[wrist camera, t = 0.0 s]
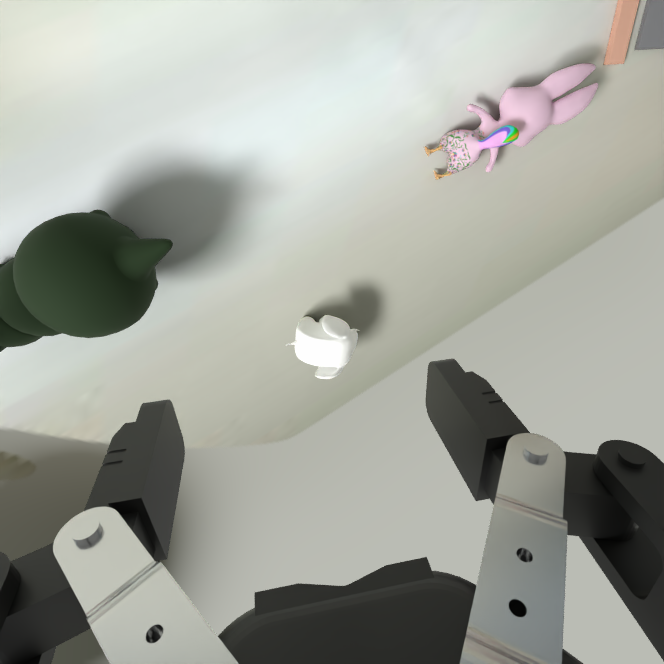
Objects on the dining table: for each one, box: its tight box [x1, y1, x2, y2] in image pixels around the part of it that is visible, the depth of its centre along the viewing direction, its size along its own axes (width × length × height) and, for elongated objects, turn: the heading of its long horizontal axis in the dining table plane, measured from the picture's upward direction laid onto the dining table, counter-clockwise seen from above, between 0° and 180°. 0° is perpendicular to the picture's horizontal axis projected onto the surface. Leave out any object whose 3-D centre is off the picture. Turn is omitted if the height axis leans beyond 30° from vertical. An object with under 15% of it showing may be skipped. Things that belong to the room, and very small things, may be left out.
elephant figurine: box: [285, 315, 360, 379], centre depth 43 cm, size 7×8×6 cm
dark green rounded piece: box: [0, 210, 173, 352], centre depth 31 cm, size 9×19×25 cm
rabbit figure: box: [423, 63, 598, 180], centre depth 36 cm, size 6×6×15 cm
